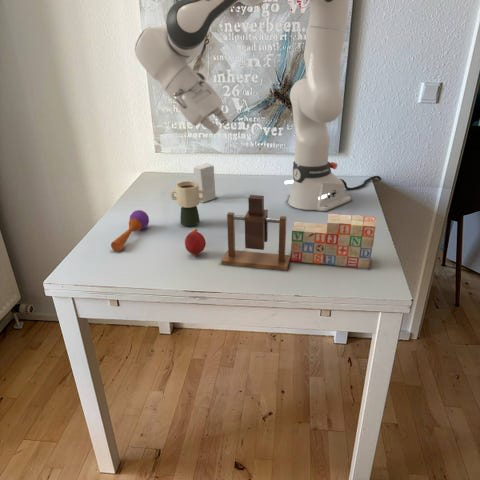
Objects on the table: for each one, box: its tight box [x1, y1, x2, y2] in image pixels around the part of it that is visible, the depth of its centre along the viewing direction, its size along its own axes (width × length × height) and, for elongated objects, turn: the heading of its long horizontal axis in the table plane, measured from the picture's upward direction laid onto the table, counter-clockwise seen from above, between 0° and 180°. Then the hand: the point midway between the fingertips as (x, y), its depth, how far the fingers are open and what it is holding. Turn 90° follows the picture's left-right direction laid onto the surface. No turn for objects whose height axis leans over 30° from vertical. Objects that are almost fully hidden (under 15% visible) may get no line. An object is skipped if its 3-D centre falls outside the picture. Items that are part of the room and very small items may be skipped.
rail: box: [221, 211, 291, 272], centre depth 131 cm, size 18×7×14 cm, turn 76°
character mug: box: [170, 180, 205, 227], centre depth 154 cm, size 11×7×13 cm, turn 84°
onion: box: [184, 228, 207, 256], centre depth 136 cm, size 6×6×8 cm
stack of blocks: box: [290, 213, 376, 270], centre depth 131 cm, size 21×6×12 cm, turn 77°
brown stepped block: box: [244, 194, 269, 251], centre depth 128 cm, size 6×5×14 cm
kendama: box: [110, 209, 150, 253], centre depth 148 cm, size 6×6×20 cm
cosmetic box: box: [193, 162, 216, 204], centre depth 173 cm, size 6×4×12 cm
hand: (222, 127), depth 133 cm, fingers open, 8 cm apart
